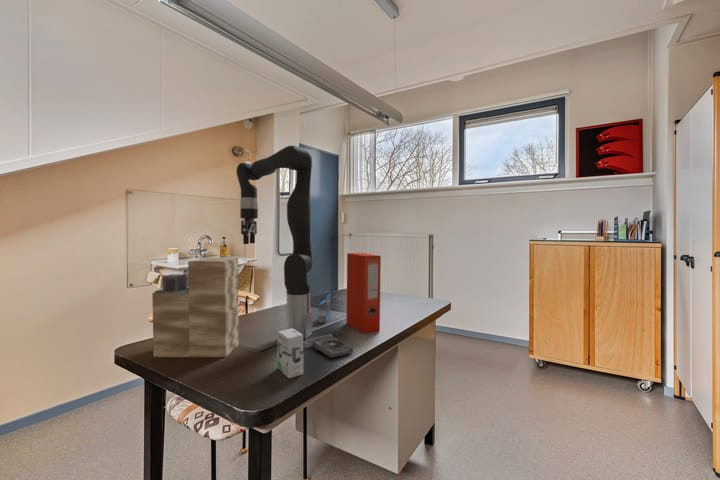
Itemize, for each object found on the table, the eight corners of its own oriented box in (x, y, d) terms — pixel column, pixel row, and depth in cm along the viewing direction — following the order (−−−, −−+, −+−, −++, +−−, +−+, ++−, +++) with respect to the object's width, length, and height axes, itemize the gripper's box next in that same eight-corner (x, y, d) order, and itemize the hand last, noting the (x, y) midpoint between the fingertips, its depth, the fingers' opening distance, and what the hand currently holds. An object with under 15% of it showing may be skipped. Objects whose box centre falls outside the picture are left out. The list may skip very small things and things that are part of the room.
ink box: (276, 368, 101) (276, 330, 101) (291, 364, 104) (291, 327, 103) (288, 378, 94) (288, 337, 94) (304, 374, 97) (304, 334, 97)
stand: (173, 344, 122) (172, 258, 121) (238, 344, 122) (237, 258, 121) (153, 356, 110) (151, 261, 109) (225, 357, 110) (224, 261, 109)
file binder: (362, 321, 153) (362, 252, 152) (380, 331, 138) (380, 255, 137) (346, 323, 150) (346, 253, 149) (362, 334, 134) (363, 256, 133)
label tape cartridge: (322, 317, 159) (322, 292, 159) (330, 318, 159) (330, 292, 158) (318, 322, 150) (318, 296, 150) (326, 323, 150) (326, 296, 150)
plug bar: (195, 280, 131) (195, 268, 131) (208, 281, 131) (208, 268, 131) (162, 291, 109) (162, 276, 109) (177, 291, 109) (177, 276, 109)
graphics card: (302, 339, 119) (331, 332, 126) (302, 349, 119) (331, 342, 126) (325, 354, 105) (356, 345, 112) (325, 365, 105) (356, 356, 112)
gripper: (252, 207, 142) (252, 244, 143) (262, 209, 157) (262, 243, 157) (234, 207, 142) (235, 244, 143) (246, 209, 157) (246, 243, 157)
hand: (249, 243), depth 150 cm, fingers open, 8 cm apart
